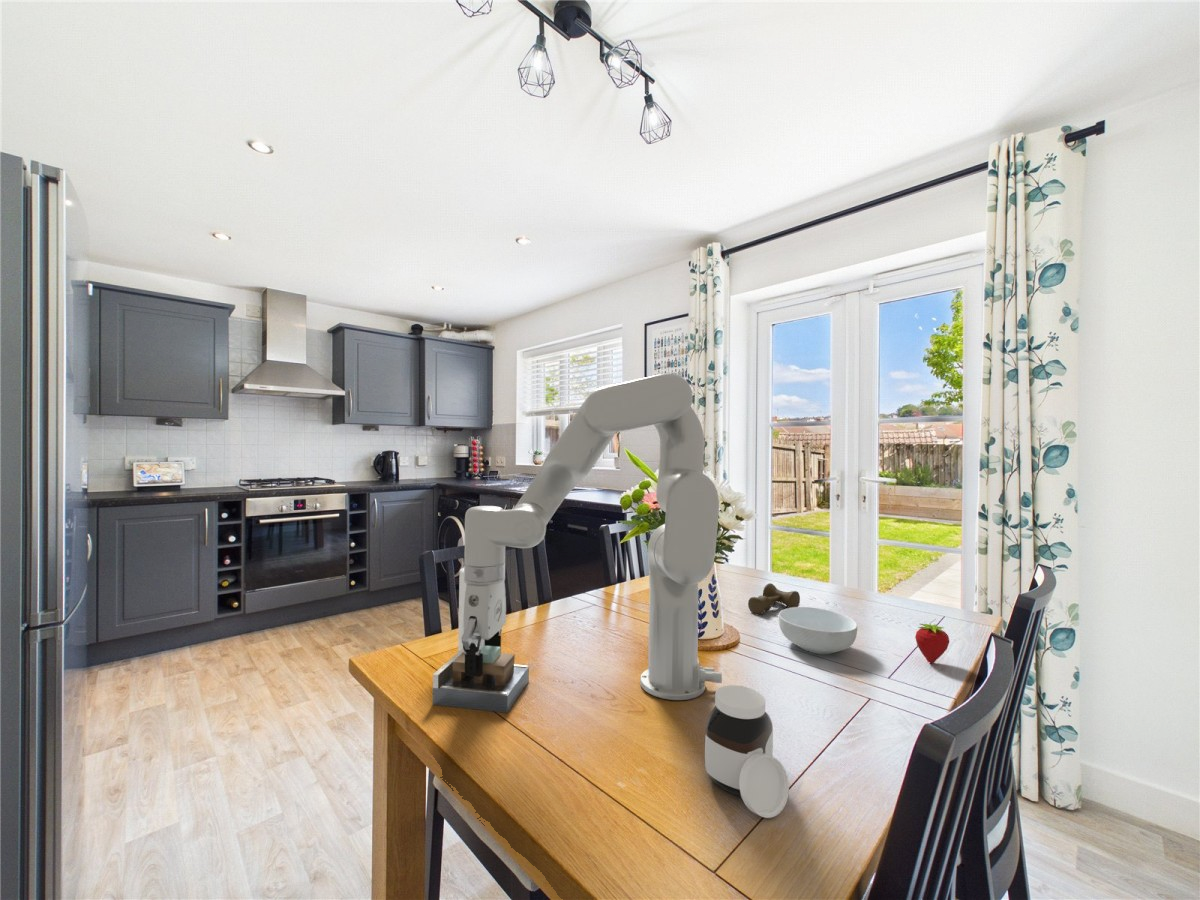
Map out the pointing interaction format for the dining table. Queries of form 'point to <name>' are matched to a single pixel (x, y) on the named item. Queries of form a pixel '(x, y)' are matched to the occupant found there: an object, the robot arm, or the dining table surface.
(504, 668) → the pallet
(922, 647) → the strawberry
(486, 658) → the cargo
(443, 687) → the tray
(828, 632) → the cereal bowl
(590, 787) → the dining table surface
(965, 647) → the dining table surface
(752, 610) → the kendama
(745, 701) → the spread jar
